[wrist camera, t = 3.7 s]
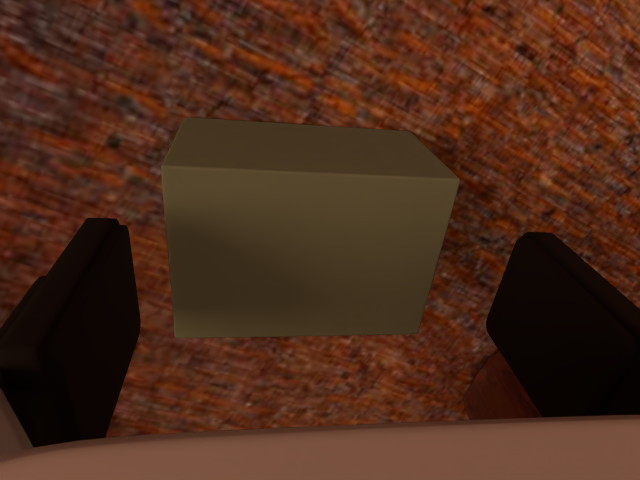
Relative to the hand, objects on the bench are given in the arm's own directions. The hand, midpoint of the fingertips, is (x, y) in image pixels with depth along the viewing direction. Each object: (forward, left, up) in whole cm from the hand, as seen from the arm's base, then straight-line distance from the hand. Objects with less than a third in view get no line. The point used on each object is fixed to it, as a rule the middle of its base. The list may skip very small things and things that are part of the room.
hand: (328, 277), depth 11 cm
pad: (0, 0, -5) cm, 5 cm away
